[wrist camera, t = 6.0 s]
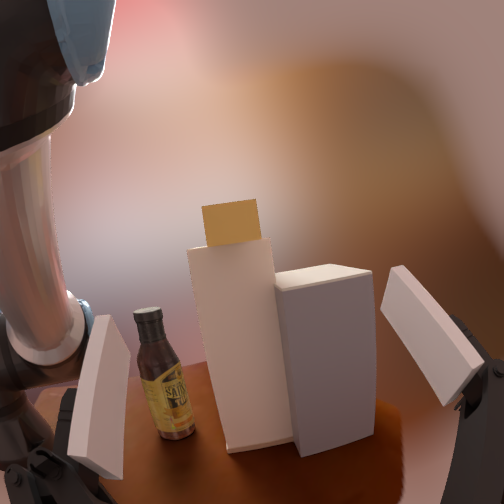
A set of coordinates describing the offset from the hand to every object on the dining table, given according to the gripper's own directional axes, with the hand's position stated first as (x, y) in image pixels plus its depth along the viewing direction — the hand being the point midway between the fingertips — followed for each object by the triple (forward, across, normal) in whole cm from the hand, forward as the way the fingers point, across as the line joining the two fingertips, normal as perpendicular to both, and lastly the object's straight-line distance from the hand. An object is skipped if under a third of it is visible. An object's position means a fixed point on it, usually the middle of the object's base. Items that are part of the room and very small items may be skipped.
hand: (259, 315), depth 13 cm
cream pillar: (+10, 0, -33) cm, 34 cm away
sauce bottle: (+10, -12, -34) cm, 37 cm away
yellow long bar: (+20, 0, -8) cm, 21 cm away
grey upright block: (+6, +9, -31) cm, 33 cm away
